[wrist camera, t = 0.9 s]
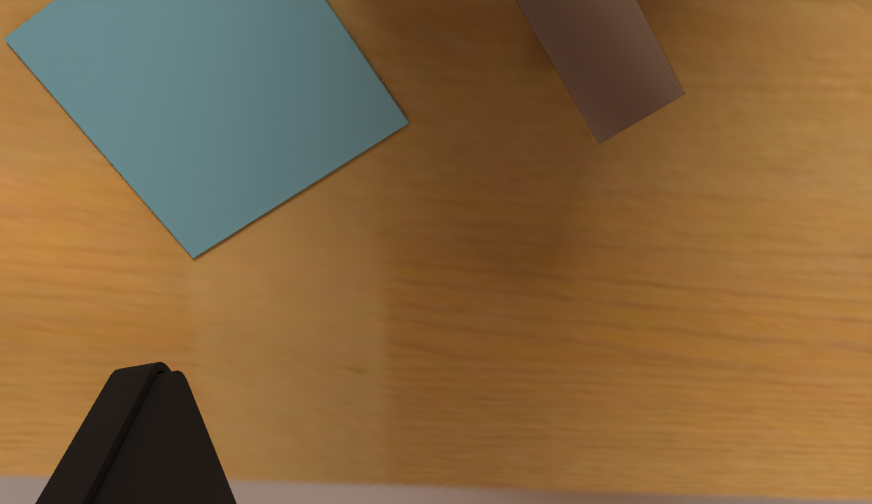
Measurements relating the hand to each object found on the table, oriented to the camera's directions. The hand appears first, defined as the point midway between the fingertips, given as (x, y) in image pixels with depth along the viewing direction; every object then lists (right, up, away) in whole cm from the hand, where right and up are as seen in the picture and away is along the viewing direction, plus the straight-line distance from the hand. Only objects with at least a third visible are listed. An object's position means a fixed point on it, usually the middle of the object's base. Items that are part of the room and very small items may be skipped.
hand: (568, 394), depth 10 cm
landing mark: (-11, +9, +25) cm, 29 cm away
